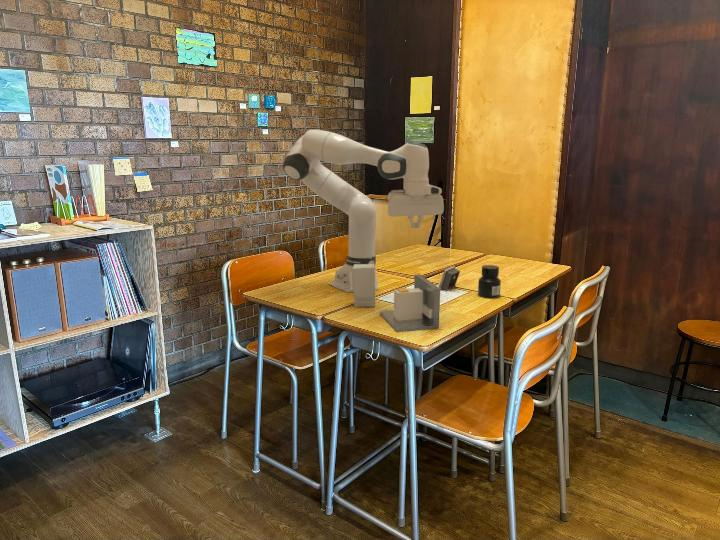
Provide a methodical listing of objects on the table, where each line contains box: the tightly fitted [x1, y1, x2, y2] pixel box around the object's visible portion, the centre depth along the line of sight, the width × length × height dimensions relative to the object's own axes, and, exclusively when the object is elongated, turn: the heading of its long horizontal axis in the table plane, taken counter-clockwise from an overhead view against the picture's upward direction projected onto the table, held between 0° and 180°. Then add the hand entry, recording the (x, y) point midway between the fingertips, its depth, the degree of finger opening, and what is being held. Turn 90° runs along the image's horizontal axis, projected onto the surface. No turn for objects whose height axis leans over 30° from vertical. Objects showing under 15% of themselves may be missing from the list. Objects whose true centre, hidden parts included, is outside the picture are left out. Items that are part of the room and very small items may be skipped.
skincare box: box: [353, 264, 376, 308], centre depth 210 cm, size 8×7×16 cm
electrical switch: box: [438, 265, 461, 291], centre depth 234 cm, size 9×5×9 cm, turn 145°
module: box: [393, 287, 423, 321], centre depth 192 cm, size 9×4×11 cm, turn 104°
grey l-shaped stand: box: [379, 273, 441, 333], centre depth 192 cm, size 15×20×14 cm
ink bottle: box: [477, 264, 502, 299], centre depth 224 cm, size 10×9×12 cm
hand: (415, 227), depth 198 cm, fingers closed
